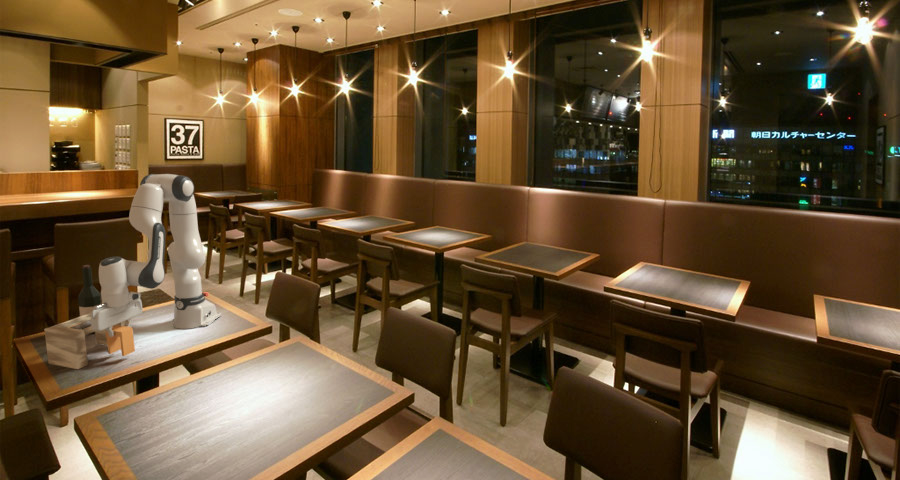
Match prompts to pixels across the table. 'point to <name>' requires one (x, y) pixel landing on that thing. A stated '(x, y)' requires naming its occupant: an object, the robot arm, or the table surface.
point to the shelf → (71, 342)
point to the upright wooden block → (121, 340)
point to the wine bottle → (88, 294)
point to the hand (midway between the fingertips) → (119, 332)
